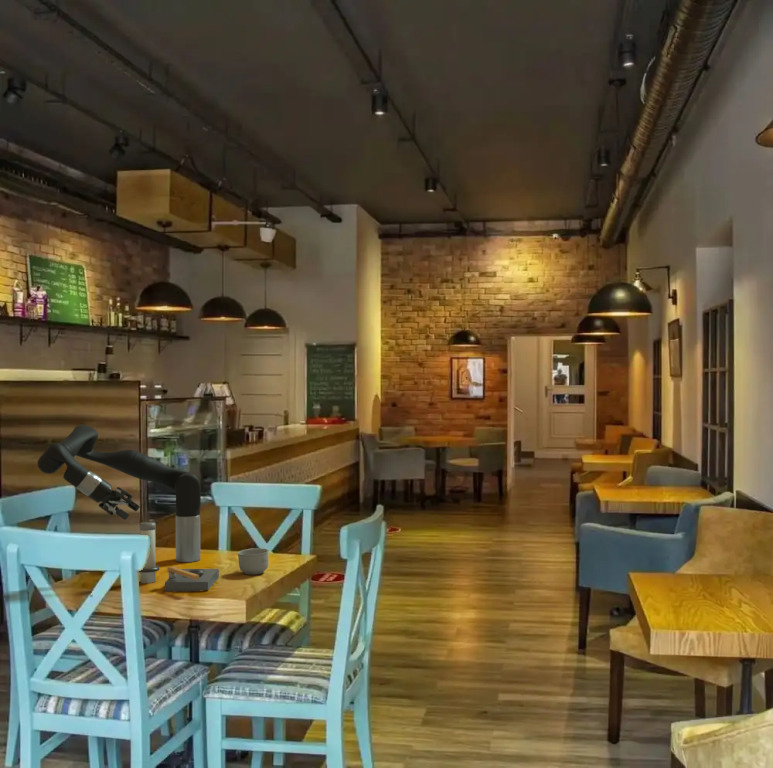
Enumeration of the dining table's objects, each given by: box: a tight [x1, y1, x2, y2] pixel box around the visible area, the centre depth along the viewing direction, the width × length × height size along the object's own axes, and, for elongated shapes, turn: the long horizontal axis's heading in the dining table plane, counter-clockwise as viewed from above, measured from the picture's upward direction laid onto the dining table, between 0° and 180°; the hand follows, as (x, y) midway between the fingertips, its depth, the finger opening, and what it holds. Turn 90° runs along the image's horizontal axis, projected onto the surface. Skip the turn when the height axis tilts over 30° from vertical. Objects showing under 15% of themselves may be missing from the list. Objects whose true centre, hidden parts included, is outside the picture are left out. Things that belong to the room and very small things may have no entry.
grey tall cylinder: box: [138, 521, 160, 584], centre depth 296 cm, size 8×8×20 cm
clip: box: [166, 566, 199, 580], centre depth 283 cm, size 3×18×1 cm, turn 42°
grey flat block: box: [164, 568, 220, 592], centre depth 292 cm, size 20×14×5 cm
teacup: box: [237, 547, 269, 576], centre depth 310 cm, size 14×11×8 cm
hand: (132, 513), depth 301 cm, fingers open, 8 cm apart
